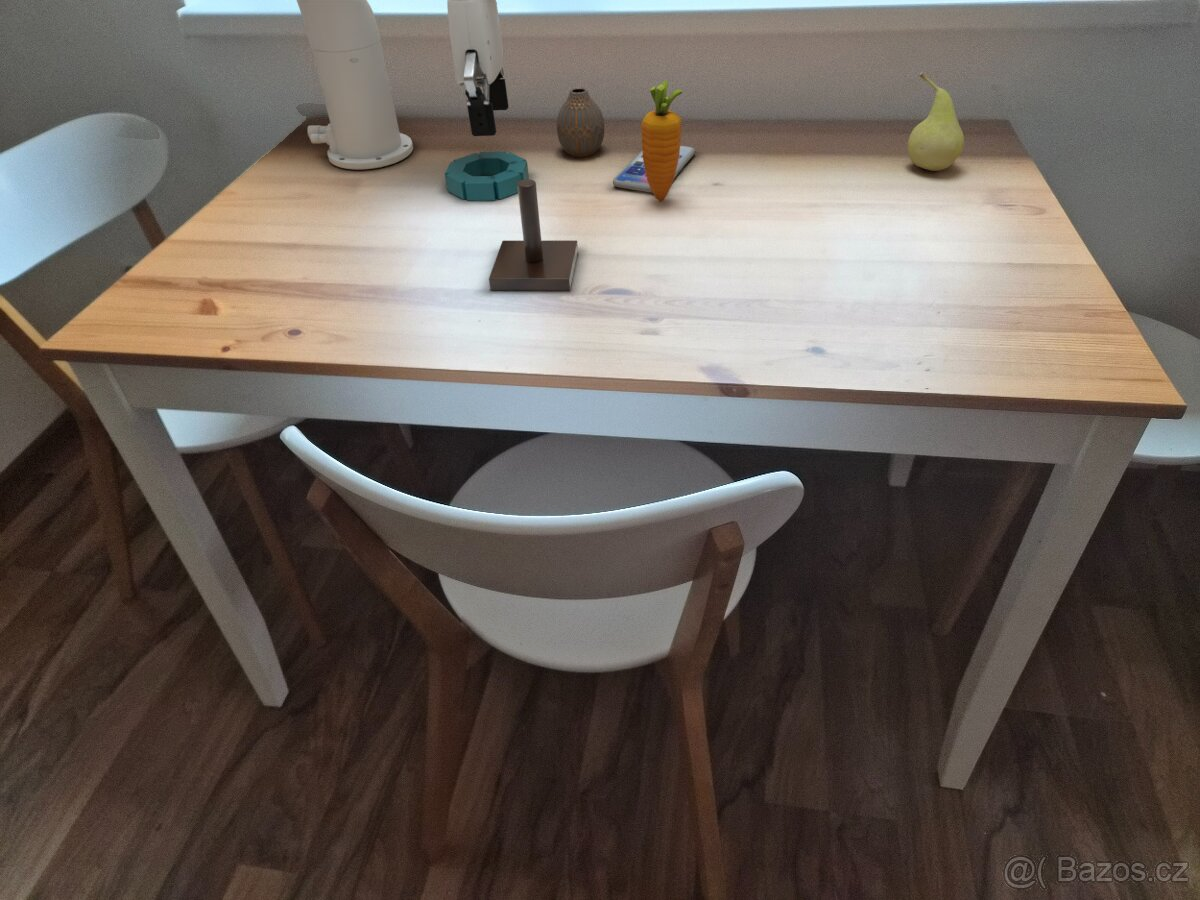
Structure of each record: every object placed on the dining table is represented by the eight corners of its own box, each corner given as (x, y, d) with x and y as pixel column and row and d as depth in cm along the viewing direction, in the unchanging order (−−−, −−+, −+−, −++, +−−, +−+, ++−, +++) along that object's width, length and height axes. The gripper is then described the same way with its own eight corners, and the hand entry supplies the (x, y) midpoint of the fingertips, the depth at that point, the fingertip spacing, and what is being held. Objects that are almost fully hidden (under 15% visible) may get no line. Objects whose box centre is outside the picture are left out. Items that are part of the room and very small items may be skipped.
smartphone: (697, 147, 116) (661, 188, 106) (697, 153, 117) (661, 195, 107) (649, 140, 118) (609, 180, 108) (649, 146, 119) (609, 187, 109)
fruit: (949, 183, 106) (973, 87, 98) (892, 172, 109) (911, 79, 101) (962, 164, 110) (986, 72, 102) (907, 155, 113) (926, 64, 105)
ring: (441, 201, 108) (438, 183, 107) (458, 168, 116) (455, 151, 115) (520, 200, 107) (519, 183, 106) (532, 167, 116) (530, 151, 114)
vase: (607, 143, 121) (605, 81, 115) (602, 161, 116) (600, 98, 110) (562, 143, 122) (557, 82, 116) (555, 161, 117) (550, 98, 111)
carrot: (656, 190, 108) (657, 72, 98) (687, 199, 106) (691, 79, 96) (633, 204, 105) (632, 83, 95) (664, 213, 103) (666, 91, 93)
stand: (490, 290, 90) (477, 201, 83) (503, 251, 97) (492, 166, 90) (570, 290, 90) (563, 200, 83) (578, 251, 96) (572, 165, 89)
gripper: (455, -34, 106) (476, 101, 117) (423, -2, 93) (450, 146, 104) (511, -37, 105) (527, 99, 116) (486, -5, 92) (507, 144, 103)
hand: (491, 121), depth 110 cm, fingers open, 9 cm apart
